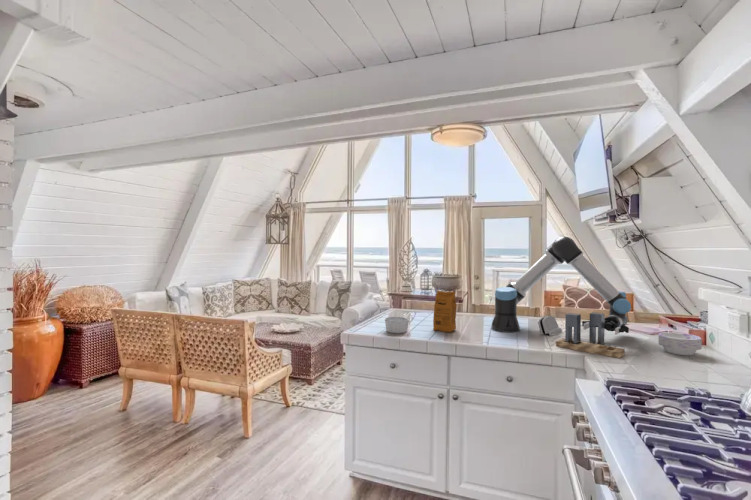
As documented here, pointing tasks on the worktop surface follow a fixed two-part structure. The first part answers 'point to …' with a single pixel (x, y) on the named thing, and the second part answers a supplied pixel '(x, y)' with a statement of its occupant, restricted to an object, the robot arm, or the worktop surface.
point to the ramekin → (396, 324)
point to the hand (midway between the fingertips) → (599, 329)
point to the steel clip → (599, 321)
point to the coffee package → (445, 312)
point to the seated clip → (575, 322)
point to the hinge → (549, 325)
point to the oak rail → (592, 348)
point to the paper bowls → (680, 343)
